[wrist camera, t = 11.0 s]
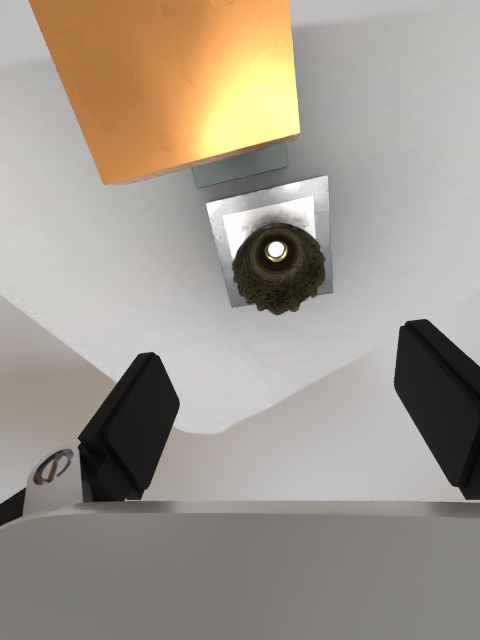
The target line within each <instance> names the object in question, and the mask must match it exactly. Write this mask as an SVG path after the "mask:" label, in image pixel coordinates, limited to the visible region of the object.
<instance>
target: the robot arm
mask: <svg viewBox="0 0 480 640" xmlns="http://www.w3.org/2000/svg"><path fill="white" fill-rule="evenodd" d="M394 387H395V390H396V392H397V394H398V396H399V397H400V399H401V401H402V403H403V404H404V406H405V408H406V409H407V411H408V413H409V414H410V416H411V418H412V420H413V421H414V423H415V425H416V426H417V428H418V430H419V432H420V433H421V435H422V436H423V438H424V440H425V442H426V444H427V445H428V447H429V449H430V450H431V452H432V454H433V455H434V457H435V459H436V460H437V462H438V464H439V466H440V467H441V469H442V471H443V472H444V474H445V476H446V477H447V479H448V481H449V482H450V484H451V485H452V486H454V487H459V489H460V491H461V492H462V494H463V496H464V497H465V499H466V500H480V367H479V366H478V365H477V364H476V363H475V362H474V361H473V360H472V359H471V358H469V357H468V356H467V355H466V354H465V353H464V352H463V351H461V350H460V349H459V348H458V347H457V346H456V345H455V344H454V343H453V342H451V341H450V340H449V339H448V338H447V337H446V336H445V335H444V334H443V333H442V332H440V331H439V330H438V329H437V328H436V327H435V326H434V325H433V324H432V323H431V322H430V321H428V320H427V319H421V320H413V321H407V322H406V323H405V326H401V327H400V330H399V339H398V349H397V358H396V368H395V377H394ZM179 406H180V402H179V398H178V396H177V394H176V392H175V390H174V387H173V385H172V383H171V381H170V379H169V376H168V374H167V372H166V370H165V368H164V365H163V363H162V361H161V359H160V357H159V356H158V355H156V354H155V353H153V352H149V353H141V354H139V355H137V357H136V358H135V360H134V361H133V362H132V364H131V365H130V366H129V368H128V369H127V371H126V372H125V373H124V375H123V376H122V377H121V379H120V380H119V382H118V383H117V384H116V386H115V387H114V389H113V390H112V391H111V393H110V394H109V395H108V397H107V398H106V399H105V401H104V402H103V404H102V405H101V407H100V408H99V409H98V411H97V412H96V413H95V415H94V416H93V417H92V419H91V420H90V422H89V423H88V424H87V426H86V427H85V429H84V430H83V431H82V433H81V434H80V435H79V437H78V439H79V440H80V442H81V443H80V445H79V446H78V447H76V446H75V445H65V446H61V447H59V448H57V449H55V450H54V451H52V452H50V453H49V454H47V455H46V456H45V457H44V458H43V459H42V460H40V461H39V463H38V464H37V465H36V466H35V467H34V468H33V470H32V472H31V473H30V475H29V477H28V481H27V486H26V488H24V489H23V490H21V491H19V492H18V493H16V494H15V495H13V496H12V497H10V498H9V499H7V500H6V501H4V502H3V503H1V504H0V640H480V503H463V502H421V501H420V502H419V501H124V500H125V498H126V499H127V500H141V498H142V495H143V493H144V490H146V489H147V488H148V487H149V485H150V483H151V480H152V478H153V475H154V473H155V470H156V467H157V465H158V462H159V460H160V457H161V454H162V452H163V449H164V446H165V444H166V441H167V439H168V436H169V433H170V430H171V428H172V426H173V423H174V420H175V418H176V415H177V413H178V410H179Z"/></svg>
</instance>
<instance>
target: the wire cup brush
mask: <svg viewBox="0 0 480 640" xmlns="http://www.w3.org/2000/svg"><path fill="white" fill-rule="evenodd" d="M273 242H280V243H281V244H282V245H283V247H284V252H283V254H282V255H281V256H279V257H273V256H271V255H270V254H269V251H268V249H269V246H270V245H271V244H272V243H273ZM320 249H321V247H320V244H319V243H318V241H317V240H316V239H315V238H313V236H312V235H310V234H309V233H308V232H306V231H305V230H303V229H300V228H299V227H297V226H294V225H291V224H287V223H271V224H268V225H265V226H263V227H261V228H259V229H257V230H255V231H254V232H252V233H251V235H249V236H248V237H247V238H246V239H245V240H244V242H243V243H242V245H240V247H239V248H238V250H237V252H236V256H235V258H234V260H233V262H232V270H233V271H234V276H233V282H234V283H235V284H236V283H238V290H239V294H240V296H241V297H244V299H245V301H246V303H247V304H249V305H251V304H254V303H256V305H257V310H258V311H262V310H264V309H267V310H269V311H270V312H271V313H272V314H275V315H281V314H283V313H285V312H286V311H288V310H290V311H291V312H296V311H297V310H298V309H299V306H300V303H301V302H302V301H306V299H307V298H308V297H309V296H311V298H314V297H315V296H316V295H317V293H318V288H319V287H320V286H321V285H322V284H323V283H324V281H325V277H326V275H325V268H324V262H325V261H326V258H325V256H324V255H323V254H322V252H321V251H320Z"/></svg>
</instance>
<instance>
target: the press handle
mask: <svg viewBox="0 0 480 640" xmlns="http://www.w3.org/2000/svg"><path fill="white" fill-rule="evenodd" d="M29 3H30V5H31V7H32V10H33V12H34V15H35V17H36V19H37V22H38V24H39V27H40V29H41V32H42V34H43V37H44V39H45V41H46V44H47V46H48V49H49V51H50V54H51V56H52V59H53V61H54V64H55V66H56V69H57V71H58V73H59V76H60V78H61V81H62V83H63V86H64V88H65V91H66V93H67V95H68V98H69V100H70V103H71V105H72V108H73V110H74V113H75V115H76V117H77V120H78V122H79V125H80V127H81V130H82V132H83V135H84V137H85V139H86V142H87V144H88V147H89V149H90V152H91V154H92V157H93V159H94V161H95V164H96V166H97V169H98V171H99V174H100V176H101V179H102V181H103V183H104V185H121V184H131V183H134V182H138V181H142V180H146V179H150V178H153V177H157V176H161V175H165V174H168V173H172V172H176V171H180V170H184V169H187V168H191V167H195V166H199V165H202V164H206V163H210V162H214V161H218V160H221V159H225V158H229V157H233V156H236V155H240V154H244V153H248V152H252V151H255V150H259V149H263V148H267V147H270V146H274V145H278V144H282V143H286V142H289V141H293V140H295V139H296V138H297V136H298V134H299V133H300V129H299V117H298V105H297V93H296V80H295V68H294V56H293V44H292V32H291V20H290V7H289V0H29Z"/></svg>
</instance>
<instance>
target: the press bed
mask: <svg viewBox="0 0 480 640" xmlns="http://www.w3.org/2000/svg"><path fill="white" fill-rule="evenodd" d="M206 207H207V211H208V215H209V219H210V223H211V227H212V231H213V235H214V239H215V243H216V247H217V251H218V255H219V259H220V263H221V267H222V271H223V275H224V279H225V283H226V286H227V290H228V294H229V298H230V302H231V306H232V308H233V307H240V306H247V305H249V304H247V303H246V301H245V299H244V297H241V296H240V294H239V290H238V283H236V284H235V283H234V282H233V276H234V271H233V270H232V262H233V260H234V258H235V256H236V252H237V250H238V248H239V247H240V245H242V243H243V242H244V240H245V239H246V238H247V237H248V236H249V235H251V233H252V232H254V231H255V230H257V229H259V228H261V227H263V226H265V225H268V224H271V223H287V224H291V225H294V226H297V227H299V228H300V229H303V230H305V231H306V232H308V233H309V234H310V235H312V236H313V238H315V239H316V240H317V241H318V243H319V244H320V247H321V249H320V251H321V252H322V254H323V255H324V256H325V258H326V261H325V262H324V268H325V275H326V277H325V281H324V283H323V284H322V285H321V286H320V287H319V288H318V293H317V295H322V294H329V293H333V284H332V261H331V237H330V213H329V190H328V175H324V176H320V177H315V178H311V179H307V180H302V181H298V182H294V183H289V184H285V185H281V186H277V187H272V188H268V189H264V190H259V191H255V192H251V193H247V194H242V195H238V196H234V197H229V198H225V199H221V200H217V201H212V202H208V203H206ZM268 251H269V254H270V255H271V256H273V257H279V256H281V255H282V254H283V252H284V247H283V245H282V244H281V243H280V242H273V243H272V244H271V245H270V246H269V249H268ZM254 304H256V303H254ZM254 304H251V305H254Z"/></svg>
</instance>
